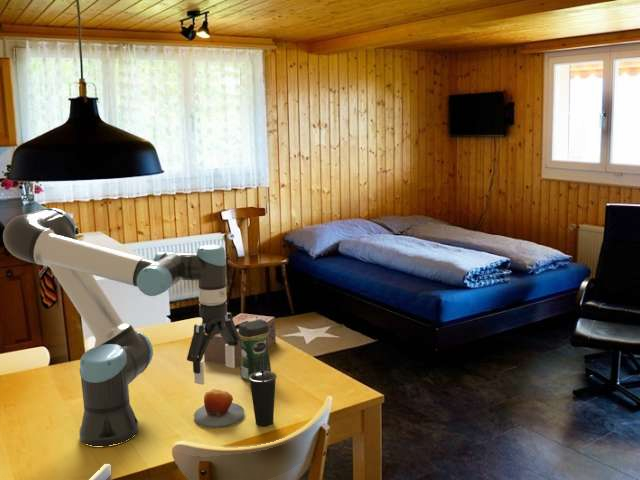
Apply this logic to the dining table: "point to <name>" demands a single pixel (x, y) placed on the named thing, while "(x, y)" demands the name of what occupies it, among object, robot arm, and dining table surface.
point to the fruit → (217, 402)
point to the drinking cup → (263, 395)
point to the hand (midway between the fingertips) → (215, 375)
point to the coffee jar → (253, 347)
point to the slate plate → (225, 420)
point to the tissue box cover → (217, 343)
